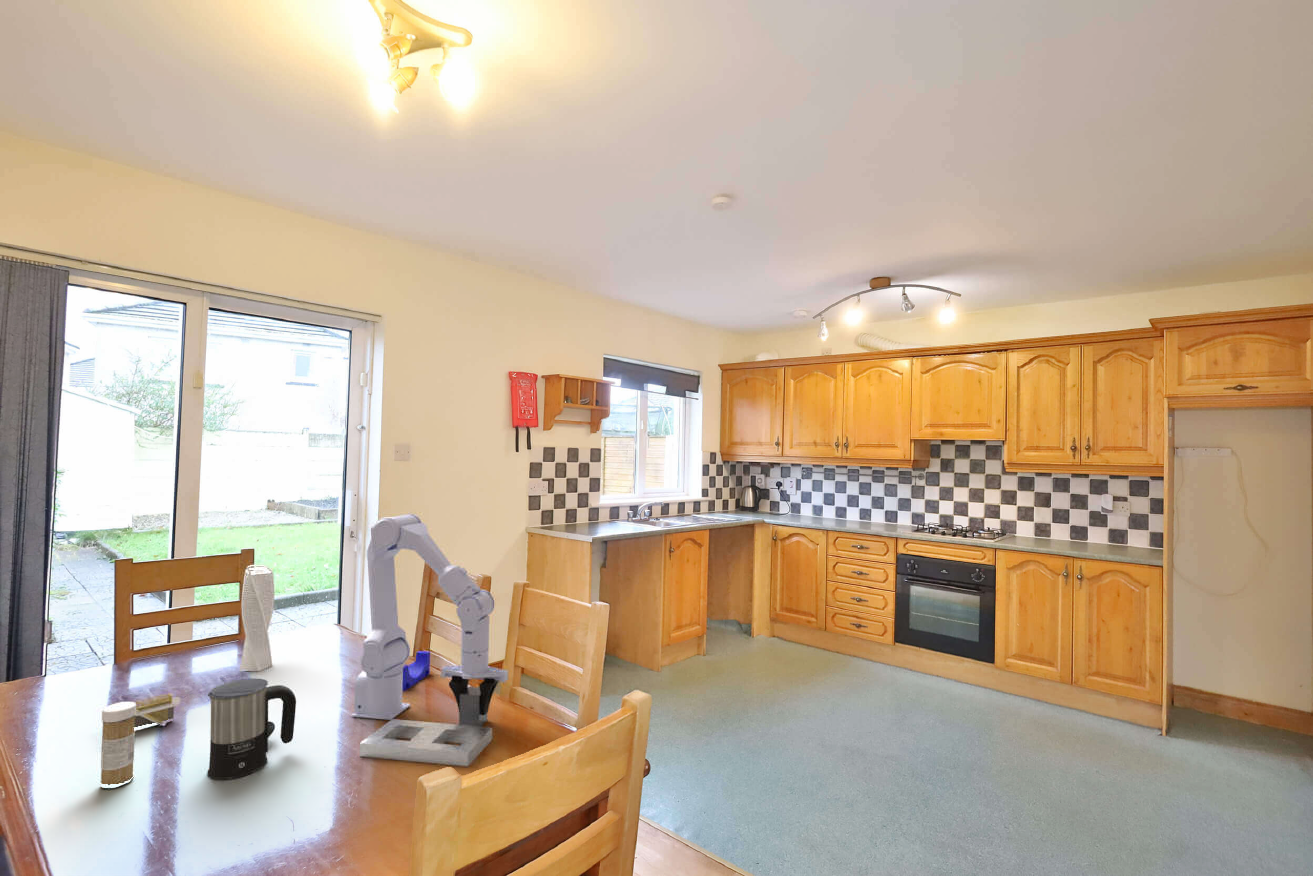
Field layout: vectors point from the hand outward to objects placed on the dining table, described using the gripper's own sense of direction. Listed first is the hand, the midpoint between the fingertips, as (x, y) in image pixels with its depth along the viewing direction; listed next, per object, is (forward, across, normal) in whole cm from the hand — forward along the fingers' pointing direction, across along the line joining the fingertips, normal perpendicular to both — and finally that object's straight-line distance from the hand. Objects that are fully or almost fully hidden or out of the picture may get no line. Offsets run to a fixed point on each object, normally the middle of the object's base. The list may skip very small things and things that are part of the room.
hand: (473, 712), depth 136 cm
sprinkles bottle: (+3, -50, -34) cm, 61 cm away
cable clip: (+3, -27, +20) cm, 34 cm away
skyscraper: (+3, -71, +21) cm, 74 cm away
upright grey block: (+2, 0, 0) cm, 2 cm away
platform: (+3, -64, -14) cm, 66 cm away
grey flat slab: (+2, -4, -12) cm, 13 cm away
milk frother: (+3, -36, -22) cm, 42 cm away
